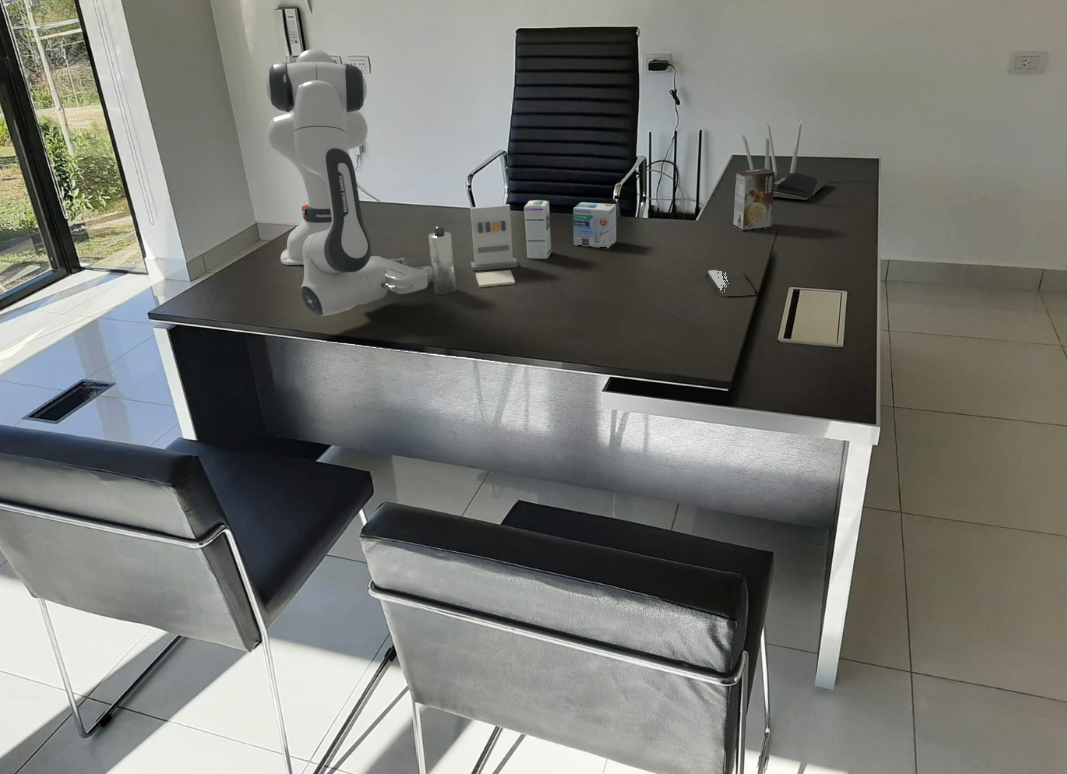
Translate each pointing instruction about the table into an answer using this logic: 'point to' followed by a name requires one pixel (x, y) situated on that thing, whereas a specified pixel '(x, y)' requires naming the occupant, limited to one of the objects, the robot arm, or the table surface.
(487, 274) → the pad
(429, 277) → the grey hockey puck
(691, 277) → the table surface
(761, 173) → the coffee box
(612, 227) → the light bulb box
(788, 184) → the wireless router
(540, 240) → the syrup box
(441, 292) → the metal bottle
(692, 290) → the table surface
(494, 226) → the breaker panel
